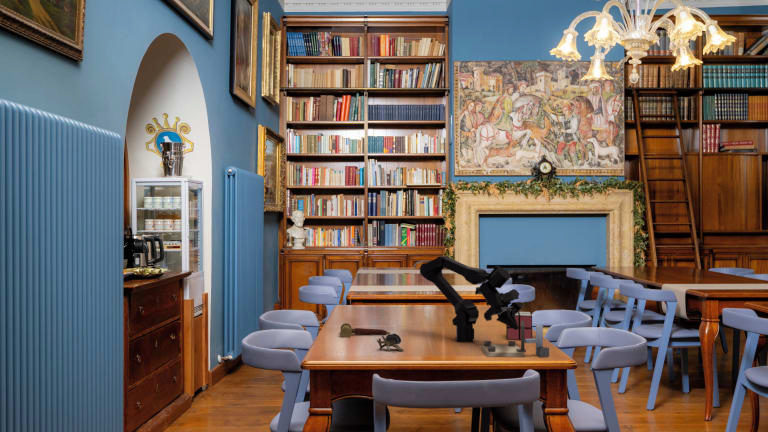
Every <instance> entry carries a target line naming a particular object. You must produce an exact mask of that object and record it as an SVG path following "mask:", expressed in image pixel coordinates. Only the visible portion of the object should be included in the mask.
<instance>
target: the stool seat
mask: <svg viewBox="0 0 768 432" xmlns="http://www.w3.org/2000/svg"><path fill="white" fill-rule="evenodd" d="M507 343H508V344H492V341H491V340H484V341H483V343H482V344H480V348H481V350H482V352H483V353H484V355H485V356H486V357H487V358H494V357H495V358H503V357H504V358H525V354H526V349H525V344H526V343H525V338H524V321H521V340H520V347H519V346H518V345H517V344H516V340H508V341H507Z"/></svg>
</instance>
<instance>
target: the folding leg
mask: <svg viewBox="0 0 768 432" xmlns="http://www.w3.org/2000/svg"><path fill="white" fill-rule="evenodd" d="M543 341H544V326H543V325H542V324H536V325H535V338H532V339H525V344H535V354H536V355H537V347H544V342H543Z"/></svg>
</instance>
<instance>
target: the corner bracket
mask: <svg viewBox="0 0 768 432" xmlns="http://www.w3.org/2000/svg"><path fill="white" fill-rule="evenodd" d="M536 356H537V357H539V358H548V357H550V347H548V346H543V347H537V354H536Z"/></svg>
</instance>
